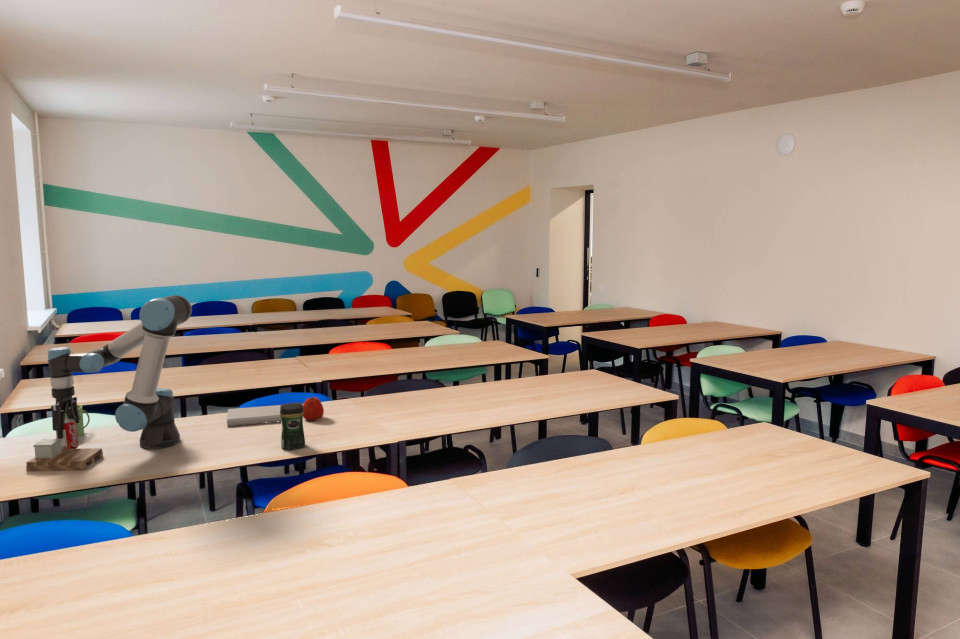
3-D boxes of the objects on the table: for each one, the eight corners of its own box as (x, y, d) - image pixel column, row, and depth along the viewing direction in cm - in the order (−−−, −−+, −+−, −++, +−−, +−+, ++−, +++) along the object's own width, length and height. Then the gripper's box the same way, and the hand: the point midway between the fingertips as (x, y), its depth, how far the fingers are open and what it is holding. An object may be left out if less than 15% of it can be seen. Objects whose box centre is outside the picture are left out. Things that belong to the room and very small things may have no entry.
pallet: (103, 456, 245) (102, 448, 245) (83, 470, 232) (82, 461, 231) (49, 457, 244) (48, 448, 243) (26, 471, 230) (25, 462, 230)
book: (228, 409, 300) (280, 405, 309) (228, 416, 301) (280, 412, 309) (226, 420, 284) (282, 415, 292) (227, 428, 284) (282, 423, 292)
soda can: (68, 453, 247) (65, 424, 245) (53, 452, 248) (50, 422, 246) (83, 447, 254) (80, 418, 252) (68, 446, 255) (65, 417, 253)
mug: (58, 440, 263) (56, 413, 261) (54, 434, 271) (52, 407, 269) (93, 434, 271) (91, 407, 270) (88, 428, 279) (86, 402, 277)
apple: (307, 415, 304) (306, 394, 303) (327, 416, 303) (327, 395, 301) (298, 421, 294) (297, 399, 293) (319, 422, 293) (318, 400, 291)
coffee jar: (303, 442, 265) (302, 399, 263) (306, 448, 258) (305, 404, 256) (279, 445, 261) (278, 402, 259) (282, 451, 254) (280, 407, 252)
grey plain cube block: (62, 452, 240) (61, 439, 239) (52, 458, 234) (51, 444, 233) (45, 452, 240) (43, 439, 239) (34, 458, 233) (33, 444, 233)
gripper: (67, 380, 257) (72, 434, 260) (36, 393, 237) (43, 451, 240) (86, 380, 257) (91, 434, 261) (57, 392, 238) (63, 451, 241)
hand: (68, 442), depth 250 cm, fingers closed on soda can, 7 cm apart
